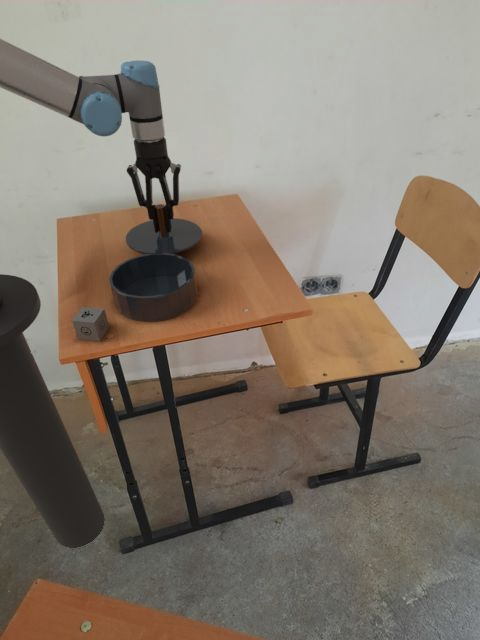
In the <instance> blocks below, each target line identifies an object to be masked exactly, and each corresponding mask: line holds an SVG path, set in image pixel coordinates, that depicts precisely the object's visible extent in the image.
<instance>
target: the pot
mask: <svg viewBox="0 0 480 640" xmlns="http://www.w3.org/2000/svg"><path fill="white" fill-rule="evenodd" d="M108 282H109V286H110V290H111V294H112V297H113V301H114V305H115V308H116V310H117V311H118V312H119V313H120V314H121V315H122V316H123V317H125V318H127V319H129V320H131V321H132V320H133V321H136V322H145V323H147V322H149V323H151V322H152V323H153V322H162V321H166V320H170V319H173V318H175V317H178V316H180V315H182V314H184V313H185V312H188V310H189V309H191V308H192V307H193V306H194V305H195V303H196V301H197V299H198V291H199V289H198V282H197V273H196V268H195V266H194V264H193V262H192V261H190V260H189V259H188V258H186V257H185V256H181V255H179V254H177V253H175V254H169V253H151V254H140V255H137V256H134V257H131V258H129V259H126V260H124V261H123V262H121V263H120V264H118V265H117V266H116V267H115V268H114V269H112V271H111V272H110V275H109V277H108Z"/></svg>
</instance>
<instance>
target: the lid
mask: <svg viewBox="0 0 480 640" xmlns="http://www.w3.org/2000/svg"><path fill="white" fill-rule="evenodd" d="M155 205H156V206H155V211H156V218H157V224H158V230H159V231H158V233H155V229H154V223H153V220H147V221H144V222H141V223H139V224H137V225H135V226H133V227H132V228H131V229H130V230H129V231H128V232H127V233H126V235H125V243H126V245H127V247H128V248H129V249H130V250H132V251H134V252H136V253H139V254H141V255H145V254H151V253H169V254H179V253H182V252H185V251H188V250H189V249H192V248H194V247H195V246H196V245H198V244H199V243H200V241H201V240H202V238H203V230H202V228H201V226H199V225H198V224H197V223H195V222H193V221H191V220H187V219H184V218H177V217H173V219H170V220H171V227H172V228H171V232H168V231H167V224H166V218H165V211H164V208H165V205H166V204H163V203H161V204H159V203H158V204H155Z"/></svg>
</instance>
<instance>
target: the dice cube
mask: <svg viewBox="0 0 480 640" xmlns="http://www.w3.org/2000/svg"><path fill="white" fill-rule="evenodd" d="M71 323H72V325H73V328H74V331H75V334H76V338H77V340H83V341H93V342H101V340H103V338H104V336H105V335H106V333H107V332H108V331H109V330H110V323H109V320H108V317H107V314H106V309H105V308H101V307H91V306H89V307H88V306H81V308H80V310H79V311H78V312H77V313H76V314H75V315H74V317H73V319H72V320H71Z"/></svg>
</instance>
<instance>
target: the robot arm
mask: <svg viewBox="0 0 480 640" xmlns="http://www.w3.org/2000/svg"><path fill="white" fill-rule="evenodd" d="M0 88H1V89H3V90H5V91H8V92H10V93H13V94H14V95H17V96H19V97H21V98H24V99H26V100H28V101H30V102H33V103H35V104H37V105H39V106H41V107H44V108H47V109H48V110H51V111H53V112H55V113H57V114H60V115H62V116H64V117H67V118H69V119H71V120H72V121H75V122H78V123H80V124H82V125H84V127H85V128H86V129H87V130H89V131H90V132H91V133H92V134H93V135H96V136H98V137H110V136H113V135H114V134H115V133H116V132H118V130H119V129H120V128H121V126H122V122H123V114H125V113H128V117H129V122H130V129H131V134H132V138H133V139H134V140H133V146H134V153H135V157H136V158H135V163H133V164H128V166H127V168H126V173H127V175H128V176H129V177H130V179H131V182H132V186H133V189H134V192H135V195H136V199H137V203H138V206H139V207H141V208H142V207H144V208H146V210H147V215H148V219H149V221H151V220H153V223H154V229H155V233H158V231H159V230H158V224H157V218H156V211H155V206H156V205H157V204H153V203H154V201H153V180H154V179H158V182H159V184H160V187H161V192H162V195H163V198H164V203H165V204H164V205H165V208H164V211H165V218H166V224H167V231H168V232H171V228H172V227H171V220H170V219H173V218H175V217H174V216H175V214H174V207H177V206H178V205H179V202H180V173H181V169H182V165H181V164H180V163H177V164H176V163H174V162H172V161H171V159H170V157H169V154H168V153H169V152H168V144H167V139H166V138H165V136H166V130H165V123H164V122H165V121H164V116H163V108H162V107H163V106H162V101H161V92H160V84H159V79H158V74H157V67H156V66H155V64H154V63H153V62H151V61H148V60H131V61H125V62H122V63H121V64H120V72H119V73H117V74H106V75H104V74H103V75H90V76H89V75H88V76H87V75H85V76H83V75H79V76H77V75H75V74H73V73H71V72H69V71H68V70H66V69H63V68H61V67H59V66H57V65H55V64H53V63H51V62H49V61H47V60H45V59H43V58H41V57H39V56H37V55H35V54H33V53H31V52H28V51H26V50H24V49H22V48H20V47H18V46H17V45H14V44H12V43H10V42H9V41H6V40H4V39H2V38H0ZM169 169H170V172H171V174H172V196H171V192H170V188H169V184H168V181H167V172H168V171H169ZM138 172H141V173H142V175H144V182H145V195H144V192H143V188H142V184H141V180H140V178H139V174H138ZM1 306H2V298H1V296H0V308H1Z"/></svg>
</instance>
